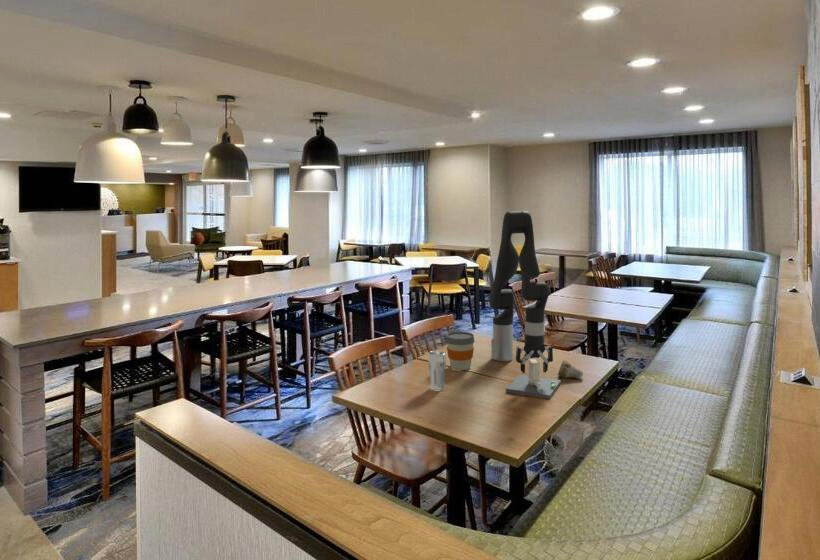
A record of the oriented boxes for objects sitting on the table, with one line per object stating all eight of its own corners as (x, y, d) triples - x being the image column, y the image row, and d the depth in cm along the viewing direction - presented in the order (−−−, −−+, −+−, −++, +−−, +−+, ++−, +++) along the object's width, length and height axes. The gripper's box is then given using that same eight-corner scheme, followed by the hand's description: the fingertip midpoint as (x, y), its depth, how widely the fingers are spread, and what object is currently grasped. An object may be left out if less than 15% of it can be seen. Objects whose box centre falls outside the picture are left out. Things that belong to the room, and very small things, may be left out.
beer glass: (427, 386, 211) (427, 350, 209) (444, 385, 212) (444, 349, 210) (429, 392, 205) (429, 355, 202) (447, 391, 205) (446, 354, 203)
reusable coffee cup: (462, 361, 242) (462, 330, 240) (480, 368, 232) (480, 335, 229) (441, 366, 235) (440, 334, 233) (458, 374, 225) (458, 340, 223)
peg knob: (526, 380, 210) (526, 359, 208) (537, 380, 210) (537, 359, 208) (532, 390, 199) (533, 367, 198) (544, 389, 199) (544, 367, 198)
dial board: (506, 392, 203) (506, 386, 202) (519, 377, 218) (519, 372, 218) (549, 399, 195) (549, 392, 194) (560, 383, 210) (560, 377, 210)
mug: (583, 382, 212) (571, 362, 211) (562, 388, 218) (551, 368, 217) (587, 373, 218) (575, 353, 217) (567, 378, 223) (555, 359, 222)
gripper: (518, 335, 199) (518, 375, 202) (555, 334, 199) (554, 374, 202) (514, 330, 206) (514, 369, 209) (549, 329, 207) (549, 368, 209)
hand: (534, 372), depth 205 cm, fingers open, 8 cm apart
